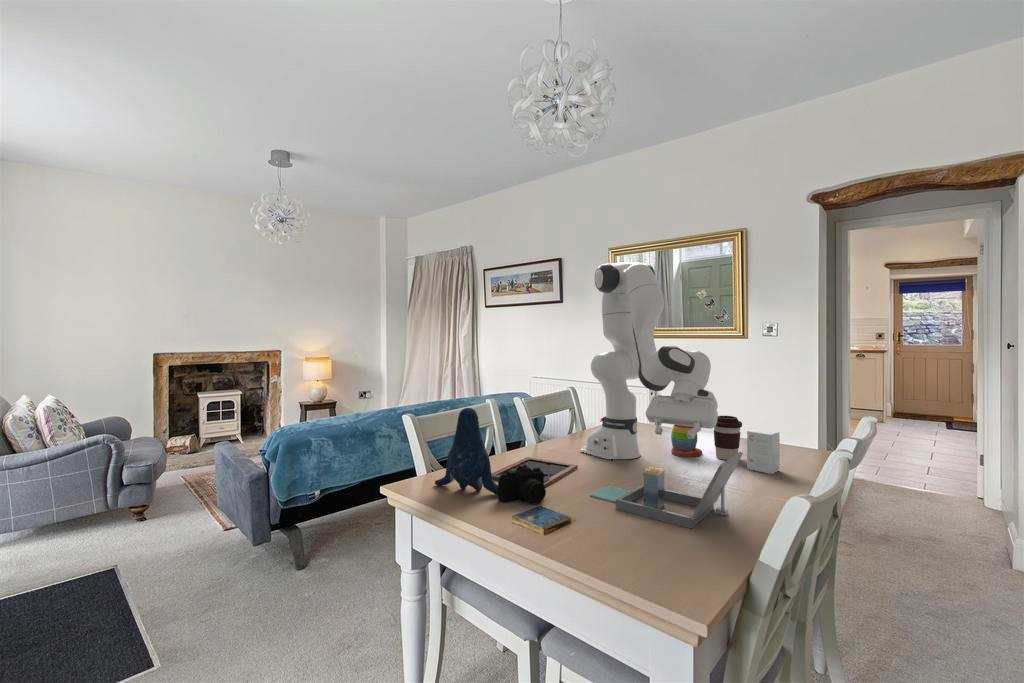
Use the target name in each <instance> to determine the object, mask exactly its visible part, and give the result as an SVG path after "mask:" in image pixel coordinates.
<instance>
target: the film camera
mask: <svg viewBox="0 0 1024 683" xmlns="http://www.w3.org/2000/svg"><path fill="white" fill-rule="evenodd" d="M545 476H548V475H547V474H544V473H543V471H541V470H540V468H534V469H533V470H531V469H530V468H529V467H527V465H525V464H524V465H523V466H520V465H519V466H518V468H517V469H516V471H512V470H508V471H504V473H503V474H502V475H501V476H499V479H498V481H497V485H498V495H497V496H498V497H497V499H498V501H499V502H500V503H502V504H504V503H510V502H511V503H512V502H515V501H523V502H524V501H526V502H528V503H529V504H534V505H537V504H540V503H542V502H543V501H544V499H545V497H546V493H547V490H546V488H545V487H544V477H545Z"/></svg>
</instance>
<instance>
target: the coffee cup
mask: <svg viewBox="0 0 1024 683" xmlns="http://www.w3.org/2000/svg"><path fill="white" fill-rule="evenodd" d="M742 427H743V422H742V421H740V420H739V419H738V417H737V416H734V415H733V416H732V415H718V418H717V424H716V426H715V427H714V428H713V439H714V447H715V457H716V458H718V459H719V460H723V461H727V460H728V459H730V458H731V457H733V456H734V455H736V454H737V453H739V448H740V444H741V442H740V440H741V428H742Z"/></svg>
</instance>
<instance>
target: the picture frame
mask: <svg viewBox="0 0 1024 683" xmlns="http://www.w3.org/2000/svg"><path fill="white" fill-rule="evenodd" d="M524 464H525V465H527V467H529V468H530V469H531V470H533V469H534V468H540V470H541V471H543V473H544V474H547V475H548V476H545V477H544V487H545V489H546V488H547V487H549V486H551V485H553V484H555V483H556V482H557V481H559V480H561V479H563V478H565V477H566V476H567V474H568V475H569V474H571V473H573V472H574V471H576V470H578V469H577V468H579V465H578V464H574V463H566V462H560V461H556V460H555V461H553V460H548V459H547V460H546V459H540V458H535V457H534V458H533V457H529V456H526V457H525V458H523V459H520V460H518V461H515V462H514V463H511V464H509V465H507V466H504V467H503V468H500V469H499V470H496V471H493V472H491V475H492V480H493V481H496V480H497V482H498V479H499V476H501V475H502V474H503V473H504V471H508V470H512V471H516V469H517V468H518V466H519V465H520V466H523V465H524ZM575 469H576V470H575ZM572 471H573V472H572Z"/></svg>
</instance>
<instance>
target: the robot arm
mask: <svg viewBox="0 0 1024 683" xmlns="http://www.w3.org/2000/svg"><path fill="white" fill-rule="evenodd" d="M594 284H595V287H596V289H597V290H598V291H599V292H600V293H603V294H602V300H601V317H602V329H603V336H604V337H605V339H606V340H608V341H609V342H610V343H611V346H612V347H613V349H614V351H605V352H602V353H599V354H596V355H594V356H593V357H592V359H591V363H590V369H591V370H590V371H591V374H592V376H593V377H594V378H595V379H596V380H597V381H598V382H599V384H600V385H601V387H602V389H603V393H604V395H605V396H604V398H605V416H603V417H602V418H600V419H599V422H600V423H601V422H602V423H601V426H599V427H598V428H597V429H595V430H593V432H591V433H590V434H589V435H588V437H587V440H586V445H584V446H582V447H581V448H580V453H583V452H584V453H583V454H586V453H587V455H590V454H591V456H594V457H598V458H603V459H606V460H609V459H610V460H611V459H613V460H631V459H636V458H639V457H641V451H640V448H639V442H638V434H637V433H638V428H639V427H638V417H637V397H636V395H635V394H634V393H633V392H631V391H630V389H629V387H628V383H627V381H628V380H629V381H631V380H637V379H639V382H640V383H641V384H642V385H643V386H644V387H645V388H646V389H648V390H650V391H653V392H662V391H663V390H665V389H666V388H667V387H668V385H670V383H671V382H673V383H674V385H673V388H672V391H671V393H670V395H661V394H658V395H657V396H653V397H652V399H651V400H650V403H649V404H648V406H647V409H646V411H645V414H644V415H645V417H646V419H647V421H649V423H654V424H655V429H654V433H655V435H659V436H661V435H662V434H663V431H664V429H663V428H662V427H661V426H662V424H666V425H682V426H691V427H694V428H693V429H692V430H688V433H687V437H688V438H690V439H694V436H695V434H697V435H698V433H699V432H700V431H701V430H702V429H711V430H712V429H714V427H715V426H716V424H717V418H718V416H719V413H718V411H717V410H718V407H719V405H718V401H717V399H716V397H715V395H714V393H713V392H712V391H710V390H708V389H707V390H706V389H705V388H706V386H708V385H707V384H708V383H709V380H710V375H711V368H712V365H711V360H710V358H709V357H708V355H706V353H704V352H702V351H699V350H689V351H688V350H684V349H682V348H680V347H678V346H676V345H673V344H665V345H663V346H661V347H660V348H659V349H658V350H657V348H656V347H657V346H656V343H655V339H654V336H655V335H654V334H655V330H656V326H657V323H658V321H659V319H660V317H661V315H662V314H663V311H664V308H665V299H664V295H663V294H664V293H663V291H662V288H661V285H660V284H659V281H658V279H657V277H656V271H655V270H654V267H653V265H651V264H649V263H647V262H633V261H632V262H631V261H628V262H627V261H625V262H615V263H608V262H607V263H602V264H601V265H599V266H598V267H597V269H596V270H595V273H594Z"/></svg>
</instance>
